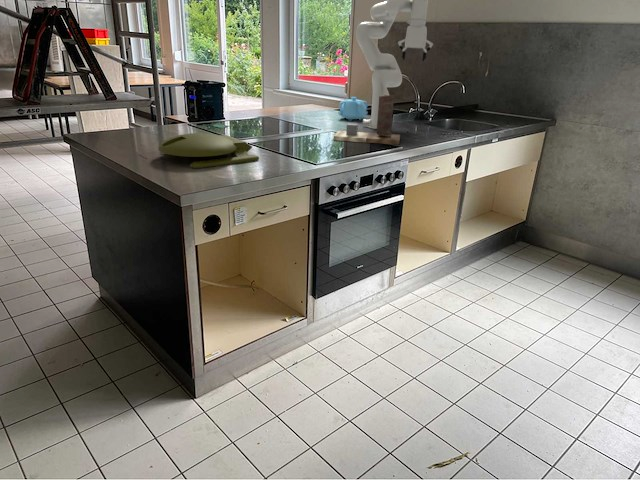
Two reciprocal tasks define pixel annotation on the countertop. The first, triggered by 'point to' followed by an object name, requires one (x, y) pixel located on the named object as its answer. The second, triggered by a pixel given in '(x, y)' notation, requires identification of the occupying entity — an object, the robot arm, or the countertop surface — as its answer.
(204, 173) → the countertop surface
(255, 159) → the spaceship
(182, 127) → the countertop surface
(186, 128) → the countertop surface
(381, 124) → the brown wooden block
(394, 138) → the light wood flat board
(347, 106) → the decorative pot
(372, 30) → the robot arm
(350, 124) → the gray cube
